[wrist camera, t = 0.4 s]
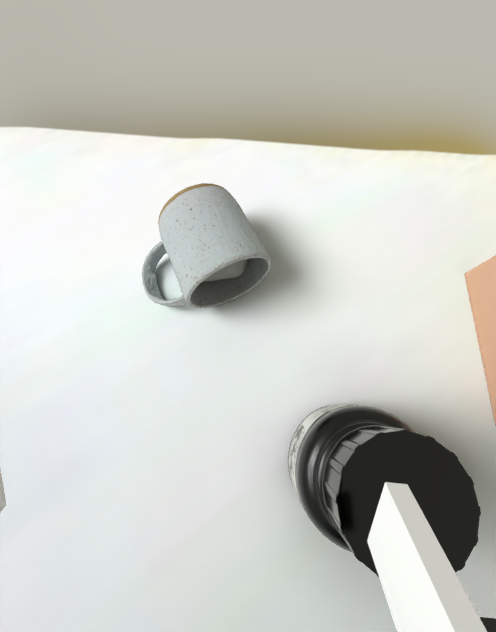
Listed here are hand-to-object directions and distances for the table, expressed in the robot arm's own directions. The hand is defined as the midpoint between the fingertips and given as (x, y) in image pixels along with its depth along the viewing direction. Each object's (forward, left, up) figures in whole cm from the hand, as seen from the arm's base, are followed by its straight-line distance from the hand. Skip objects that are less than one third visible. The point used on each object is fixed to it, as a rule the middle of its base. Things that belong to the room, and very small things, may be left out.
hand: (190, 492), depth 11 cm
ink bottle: (-2, -9, -17) cm, 20 cm away
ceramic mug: (+15, +2, -17) cm, 23 cm away
